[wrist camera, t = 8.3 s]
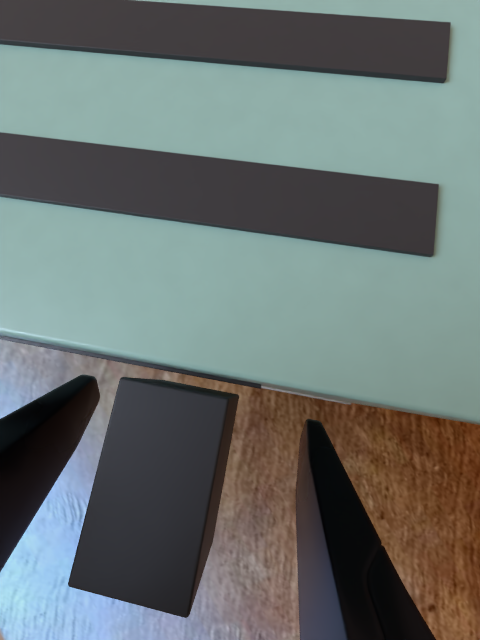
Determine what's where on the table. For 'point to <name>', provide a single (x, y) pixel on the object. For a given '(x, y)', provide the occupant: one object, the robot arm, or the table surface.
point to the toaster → (248, 192)
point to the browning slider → (156, 494)
